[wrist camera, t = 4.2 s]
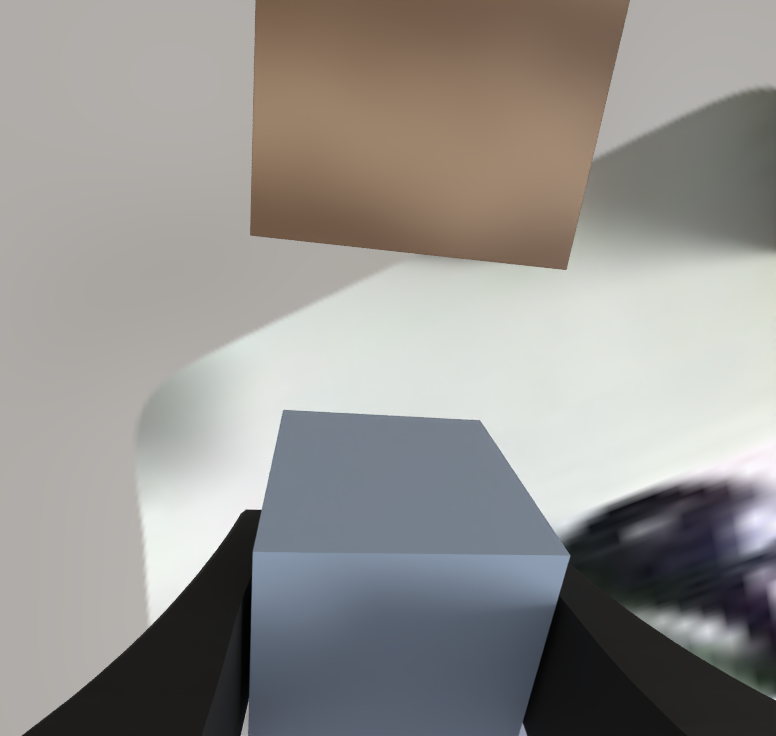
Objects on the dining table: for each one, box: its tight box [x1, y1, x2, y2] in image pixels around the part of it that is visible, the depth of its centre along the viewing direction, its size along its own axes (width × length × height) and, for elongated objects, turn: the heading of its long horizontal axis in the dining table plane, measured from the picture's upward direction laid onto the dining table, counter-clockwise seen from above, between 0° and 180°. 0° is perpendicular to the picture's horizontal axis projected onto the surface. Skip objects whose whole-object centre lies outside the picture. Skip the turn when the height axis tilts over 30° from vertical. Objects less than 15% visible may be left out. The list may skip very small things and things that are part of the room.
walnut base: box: [250, 0, 630, 270], centre depth 14 cm, size 12×10×2 cm
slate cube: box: [248, 410, 570, 736], centre depth 11 cm, size 5×5×5 cm
